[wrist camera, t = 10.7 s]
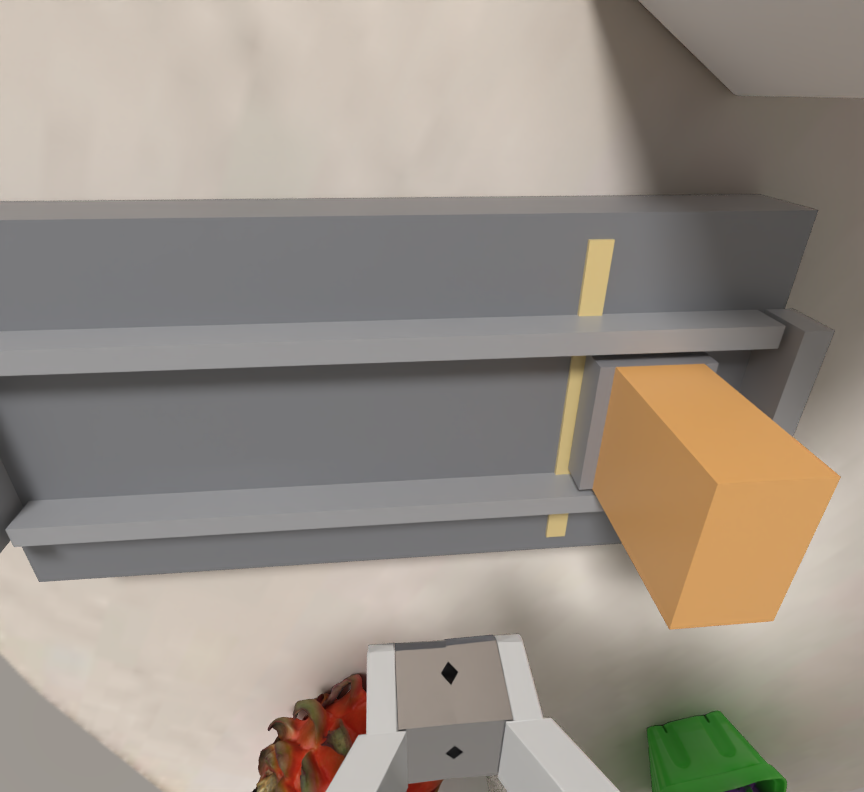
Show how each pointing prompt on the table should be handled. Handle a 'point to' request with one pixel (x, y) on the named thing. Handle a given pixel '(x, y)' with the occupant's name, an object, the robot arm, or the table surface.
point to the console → (356, 366)
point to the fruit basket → (707, 758)
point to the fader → (696, 485)
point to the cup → (465, 784)
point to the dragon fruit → (318, 743)
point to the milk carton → (773, 43)
